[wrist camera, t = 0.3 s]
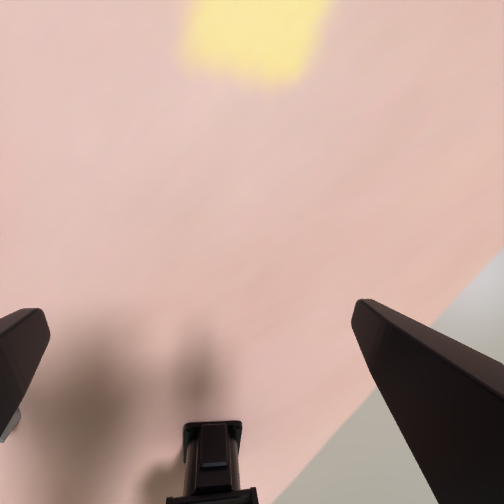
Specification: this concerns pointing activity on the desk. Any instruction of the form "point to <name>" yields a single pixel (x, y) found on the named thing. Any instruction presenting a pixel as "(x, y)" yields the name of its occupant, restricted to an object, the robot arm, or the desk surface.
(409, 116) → the desk surface
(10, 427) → the tray
